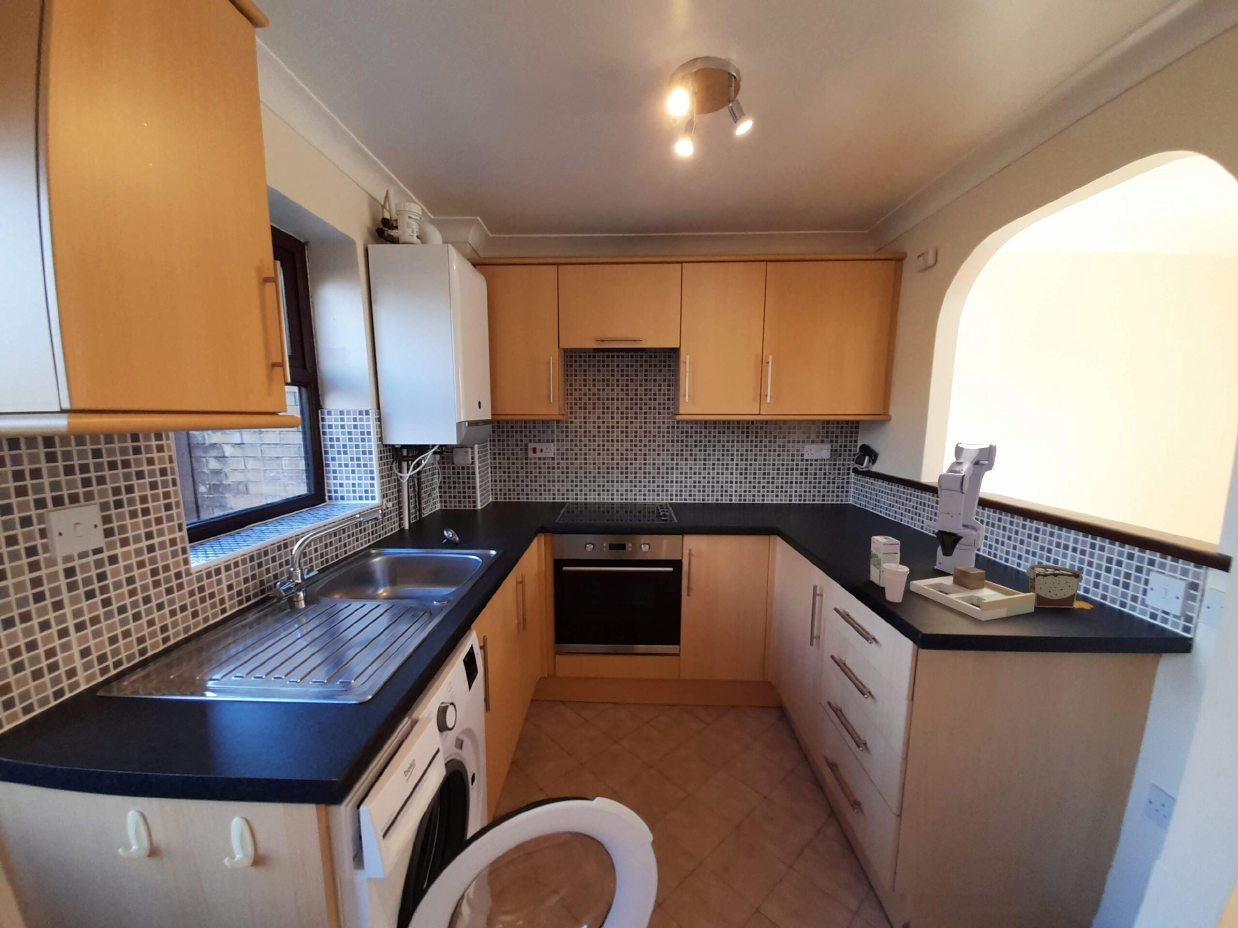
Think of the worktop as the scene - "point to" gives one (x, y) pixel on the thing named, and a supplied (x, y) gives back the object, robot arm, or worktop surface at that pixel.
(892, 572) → the smoothie
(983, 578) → the walnut block
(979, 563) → the worktop surface
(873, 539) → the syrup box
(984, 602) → the trap deck
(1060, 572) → the food container
